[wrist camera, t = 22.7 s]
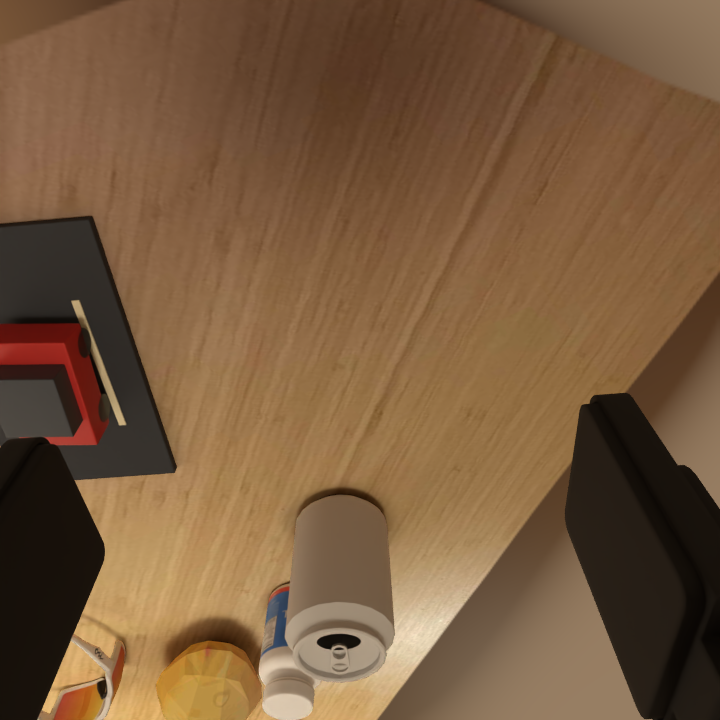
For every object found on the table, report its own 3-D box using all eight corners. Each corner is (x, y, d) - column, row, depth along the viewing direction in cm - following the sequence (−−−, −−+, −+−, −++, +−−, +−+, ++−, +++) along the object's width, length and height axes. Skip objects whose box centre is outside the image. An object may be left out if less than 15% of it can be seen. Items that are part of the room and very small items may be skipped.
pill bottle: (337, 590, 54) (335, 699, 46) (313, 622, 57) (307, 731, 49) (281, 573, 53) (269, 683, 45) (259, 607, 55) (243, 716, 47)
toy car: (84, 316, 38) (5, 316, 38) (52, 358, 34) (-36, 358, 34) (113, 415, 42) (43, 415, 42) (88, 462, 38) (10, 462, 38)
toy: (170, 607, 55) (277, 622, 57) (157, 705, 64) (250, 715, 66) (150, 681, 50) (269, 695, 51) (139, 777, 59) (240, 786, 60)
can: (386, 485, 47) (396, 624, 37) (386, 549, 51) (395, 689, 41) (292, 488, 47) (276, 628, 37) (299, 551, 51) (287, 692, 41)
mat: (-107, 233, 35) (-114, 237, 35) (92, 215, 35) (87, 220, 34) (24, 478, 46) (20, 485, 46) (176, 467, 46) (174, 474, 45)
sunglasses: (89, 705, 64) (64, 753, 60) (-39, 633, 60) (-75, 680, 56) (158, 645, 58) (136, 694, 54) (21, 563, 55) (-14, 608, 50)
